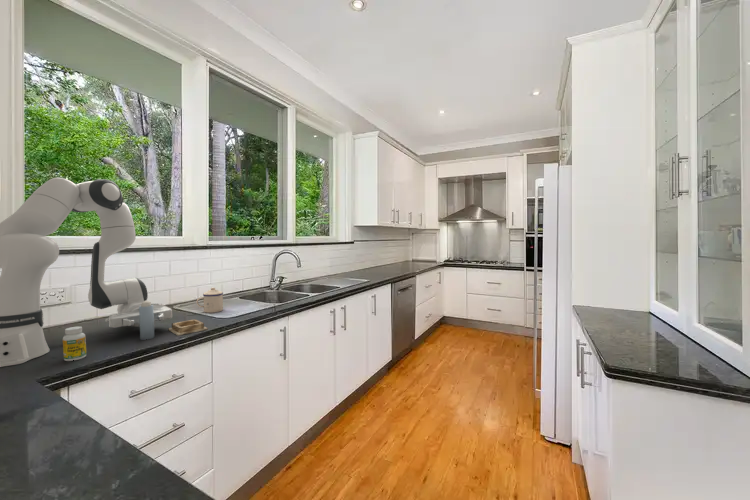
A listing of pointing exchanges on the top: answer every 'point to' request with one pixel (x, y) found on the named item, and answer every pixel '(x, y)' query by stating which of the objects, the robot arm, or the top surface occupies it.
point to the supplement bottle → (74, 344)
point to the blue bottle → (146, 320)
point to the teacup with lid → (212, 301)
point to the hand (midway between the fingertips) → (147, 320)
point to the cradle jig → (187, 327)
